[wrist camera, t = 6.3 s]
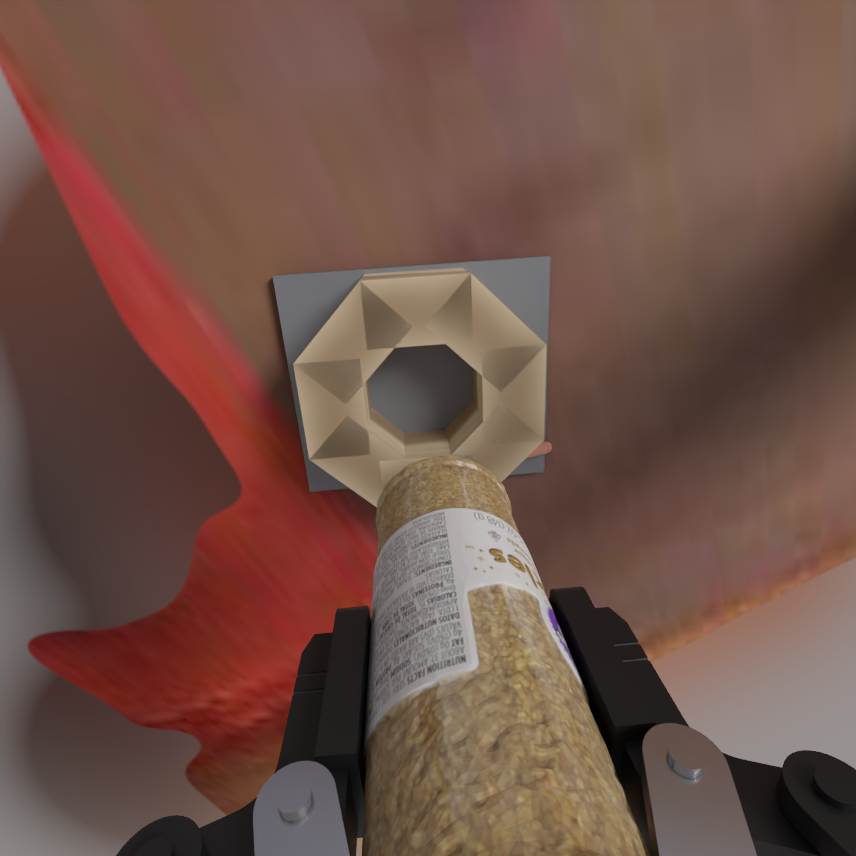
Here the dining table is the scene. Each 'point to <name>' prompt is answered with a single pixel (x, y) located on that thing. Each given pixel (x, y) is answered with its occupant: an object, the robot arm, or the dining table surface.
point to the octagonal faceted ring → (418, 326)
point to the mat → (411, 366)
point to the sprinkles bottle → (476, 688)
